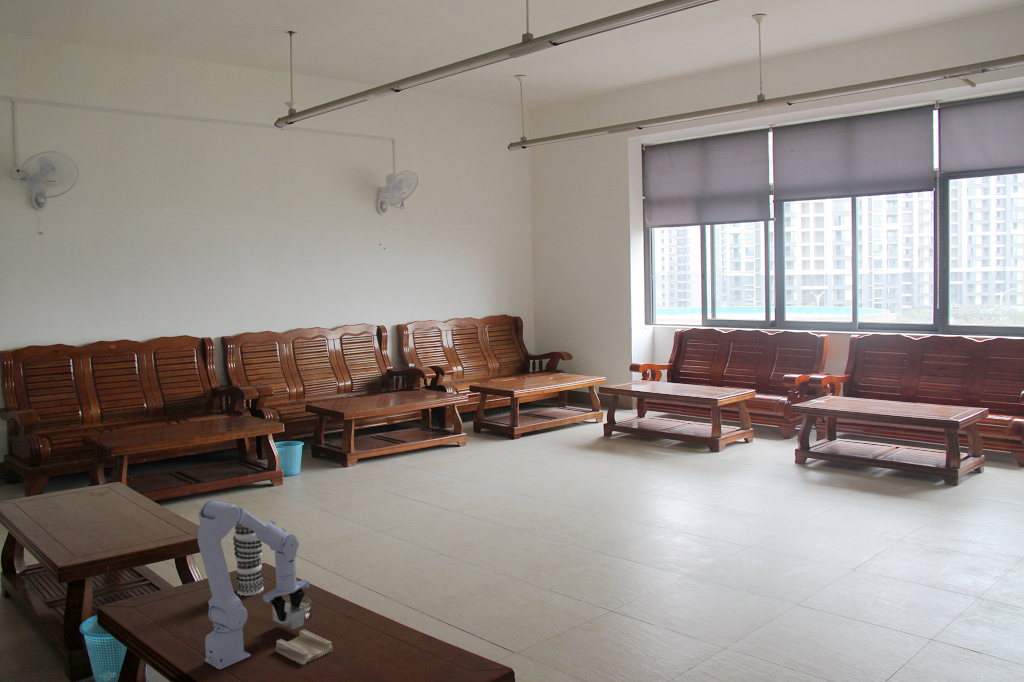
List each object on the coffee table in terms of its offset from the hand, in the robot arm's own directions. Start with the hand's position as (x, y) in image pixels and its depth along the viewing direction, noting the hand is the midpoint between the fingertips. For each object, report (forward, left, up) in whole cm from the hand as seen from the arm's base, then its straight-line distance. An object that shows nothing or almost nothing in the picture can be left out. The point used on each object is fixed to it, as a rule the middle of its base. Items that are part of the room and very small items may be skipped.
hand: (288, 617), depth 232 cm
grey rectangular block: (0, 0, -1) cm, 1 cm away
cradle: (-5, -15, -4) cm, 16 cm away
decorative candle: (+9, +36, -4) cm, 37 cm away
